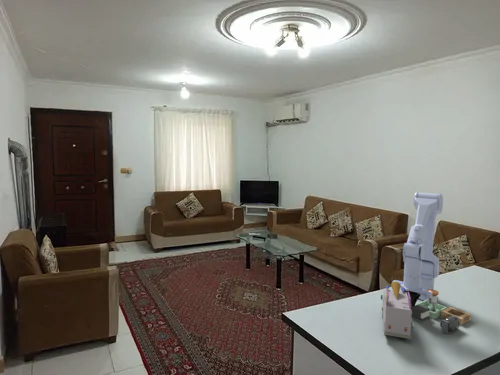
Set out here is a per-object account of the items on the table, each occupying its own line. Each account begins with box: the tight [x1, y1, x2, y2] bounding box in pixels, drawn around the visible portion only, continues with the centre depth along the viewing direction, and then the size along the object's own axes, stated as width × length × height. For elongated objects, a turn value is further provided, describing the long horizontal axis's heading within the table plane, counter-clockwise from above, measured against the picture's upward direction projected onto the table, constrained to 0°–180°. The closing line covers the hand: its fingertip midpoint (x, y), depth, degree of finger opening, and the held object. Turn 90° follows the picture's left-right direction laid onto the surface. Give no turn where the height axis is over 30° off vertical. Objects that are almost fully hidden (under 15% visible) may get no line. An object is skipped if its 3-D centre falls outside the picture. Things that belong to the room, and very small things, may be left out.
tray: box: [415, 300, 448, 320], centre depth 128 cm, size 8×9×2 cm
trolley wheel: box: [439, 315, 461, 335], centre depth 115 cm, size 4×7×4 cm, turn 124°
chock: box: [411, 304, 430, 323], centre depth 123 cm, size 4×4×4 cm
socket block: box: [440, 306, 472, 326], centre depth 123 cm, size 7×7×2 cm
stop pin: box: [427, 289, 440, 312], centre depth 128 cm, size 4×4×8 cm
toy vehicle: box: [380, 280, 414, 340], centre depth 115 cm, size 9×20×15 cm, turn 161°
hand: (410, 310), depth 127 cm, fingers closed
